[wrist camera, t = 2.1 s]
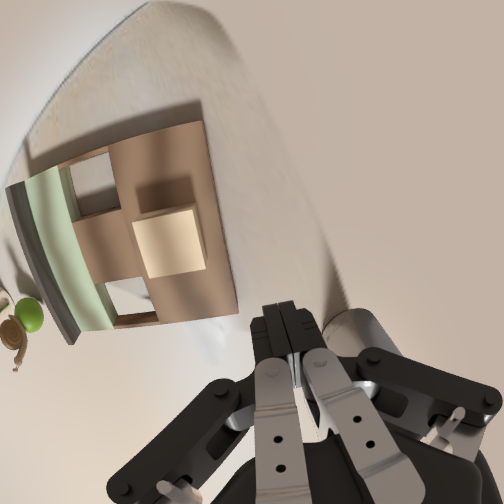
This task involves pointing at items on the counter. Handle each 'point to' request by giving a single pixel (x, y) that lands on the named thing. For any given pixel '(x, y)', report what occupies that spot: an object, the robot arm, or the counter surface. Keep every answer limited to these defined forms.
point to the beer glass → (5, 305)
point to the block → (171, 240)
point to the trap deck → (123, 235)
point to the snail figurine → (21, 326)
